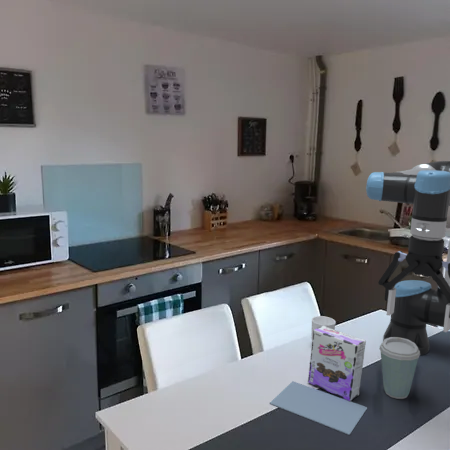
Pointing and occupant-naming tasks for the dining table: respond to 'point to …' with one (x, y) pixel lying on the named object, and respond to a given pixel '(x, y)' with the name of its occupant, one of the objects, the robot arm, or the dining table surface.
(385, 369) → the disposable coffee cup
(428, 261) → the robot arm
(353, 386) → the candy box
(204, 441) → the dining table surface
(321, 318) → the white cup
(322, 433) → the dining table surface
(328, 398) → the mat
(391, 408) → the dining table surface
